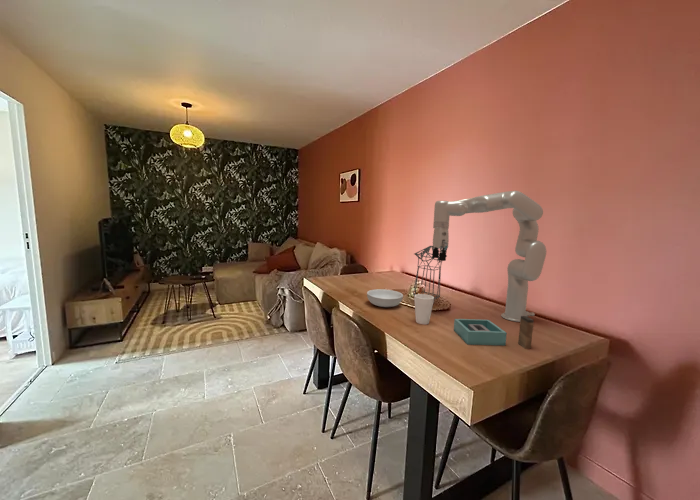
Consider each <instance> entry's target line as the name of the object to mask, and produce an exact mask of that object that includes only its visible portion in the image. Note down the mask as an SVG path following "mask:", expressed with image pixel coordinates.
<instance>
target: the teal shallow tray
mask: <svg viewBox="0 0 700 500" xmlns="http://www.w3.org/2000/svg"><path fill="white" fill-rule="evenodd" d="M453 332H455V333H456V335H458V336H459V338H461V340H463V342H464V343H465V344H466V345H469V346H470V345H471V346H472V345H473V346H476V345H477V346H478V345H479V346H506V343H507V333H508V332H506V331H505V330H503V329H502V328H501V327H499V326H498V325H497V324H495V323H494V322H492V321H491V320H490V319H478V318H476V319H471V318H470V319H469V318H454V322H453Z"/></svg>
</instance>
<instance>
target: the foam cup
mask: <svg viewBox="0 0 700 500" xmlns="http://www.w3.org/2000/svg"><path fill="white" fill-rule="evenodd" d="M413 296H414V295H413ZM434 298H435V297H434V295H433V296H432V294H429V295H428V294H427V293H424V294H423V293H421V294H419V293H417V294H415V296H414V299H413V301H414V314H415V322H416V323H417V324H419V325H429V323H430V320H431V314H432V311H433V310H432V309H433V306H434V305H433V304H434V303H435V300H434Z"/></svg>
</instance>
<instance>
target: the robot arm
mask: <svg viewBox="0 0 700 500" xmlns="http://www.w3.org/2000/svg"><path fill="white" fill-rule="evenodd" d="M505 209H512V212H511V213H512V216H513V218H514V219H515V220H516V221H517V223H518V226H519V230H518V231H519V232H518V236H517V240H516V243H515V247H514V249H515V250H514V251H515V254H516V255H517V256H519V257H522V258H524V259H521V258H514V259H512V260H511V261H509V262H508V265H507V267H506V268H507V288H506V298H505V299H506V301H505V311H504V312H502V313H501V317H502V318H503V319H506V320H508V321H510V322H519V323H520V320H521V316H527V317H535V314H536V313H535V312H533V311H532V312H530V311H527V300H528V293H529V292H528V291H529V282H534V281H536V280H537V279H539V277H540V276H541V274H542V271H543V269H544V264H545V259H546V255H547V248H546V245H545V243H543V242H542V241H540V240H538V236H539V224H538V221H539V220H541V218H542V217H543V214H544V210H543V207H542V206H541V204H539V203H538V202H536V201H535V200H534V199H532V198H530V197H529V196H528V195H526V194H525V193H523V192H521V191H519V190H511V191H502V192H497V193H495V192H494V193H490V194H484V195H478V196H475V197H471V198H470V197H469V198H465V199H460V200H459V199H458V200H454V201H453V200H452V201H449V200H448V201H447V200H437V201H435V202H434V210H433V211H434V212H433V223H432V224H433V226H432V227H433V228H432V229H433V233H432V234H433V235H432V246H433V251H432V253H431V254H432V255H431V257H432V258H434V259H438V257H439V261H442V262H445V261H446V260H447V257H446V255H447V250H448V248H449V240H450V239H449V237H450V236H449V227H450V217H462V216H464V215H466V214H474V213H475V214H476V213H477V214H481V213H489V212H494V211H500V210H501V211H502V210H505ZM439 251H440V252H439ZM439 261H438V262H439Z"/></svg>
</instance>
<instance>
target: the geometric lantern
mask: <svg viewBox="0 0 700 500" xmlns="http://www.w3.org/2000/svg"><path fill="white" fill-rule="evenodd" d="M430 251H432V252H433V245H429V246H427V247H425V248H423V249H420V250H419V251H417V252H415V253H413V255H415V256H416V258H417V260H418V261H417V268H416V269H417V271H416V276H415V282H414V287H413V291H412V296H415V295H416V293H417V286H418V278H419V269H423V272H422V278H421V285H422V286H423V281H424V275H425V281H424V288H423V289H424V290H423V292H424V294H427V295H431V296H433V297H434V296H435V297H434V301H435V300H436V299H439V298H441V275H442V274H441V270H442V265H443V264H442V263H443V261H439V257H438V258H432V253H430ZM439 253H440V250H439ZM425 254H426V255H425ZM447 257H448V255H447V254H446V258H447ZM423 258H429V259H425V260H424V259H423ZM420 260H421V262H420ZM433 260H434V261H436V262H437V264H435V266H433V265H432V266H431V265H430V263H431V262H432V261H433ZM425 262H426V263H425ZM419 263H420V264H419ZM422 263H423V264H424V265H421V264H422ZM426 264H427V265H426ZM437 266H438V267H437ZM432 268H433V269H432ZM428 270H429V271H430V273H429V281H428V282H429V284H428V291H427V292H426V287H427V278H428ZM438 270H439V271H438ZM425 271H426V274H425ZM432 271H433V276H432ZM435 271H438V279H437V280H438V281H437V293H436V294H435V292H434V291H435V289H434V288H435V274H436V273H435ZM432 277H433V278H432ZM431 280H432V292H430V291H431ZM421 285H420V286H421Z"/></svg>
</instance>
